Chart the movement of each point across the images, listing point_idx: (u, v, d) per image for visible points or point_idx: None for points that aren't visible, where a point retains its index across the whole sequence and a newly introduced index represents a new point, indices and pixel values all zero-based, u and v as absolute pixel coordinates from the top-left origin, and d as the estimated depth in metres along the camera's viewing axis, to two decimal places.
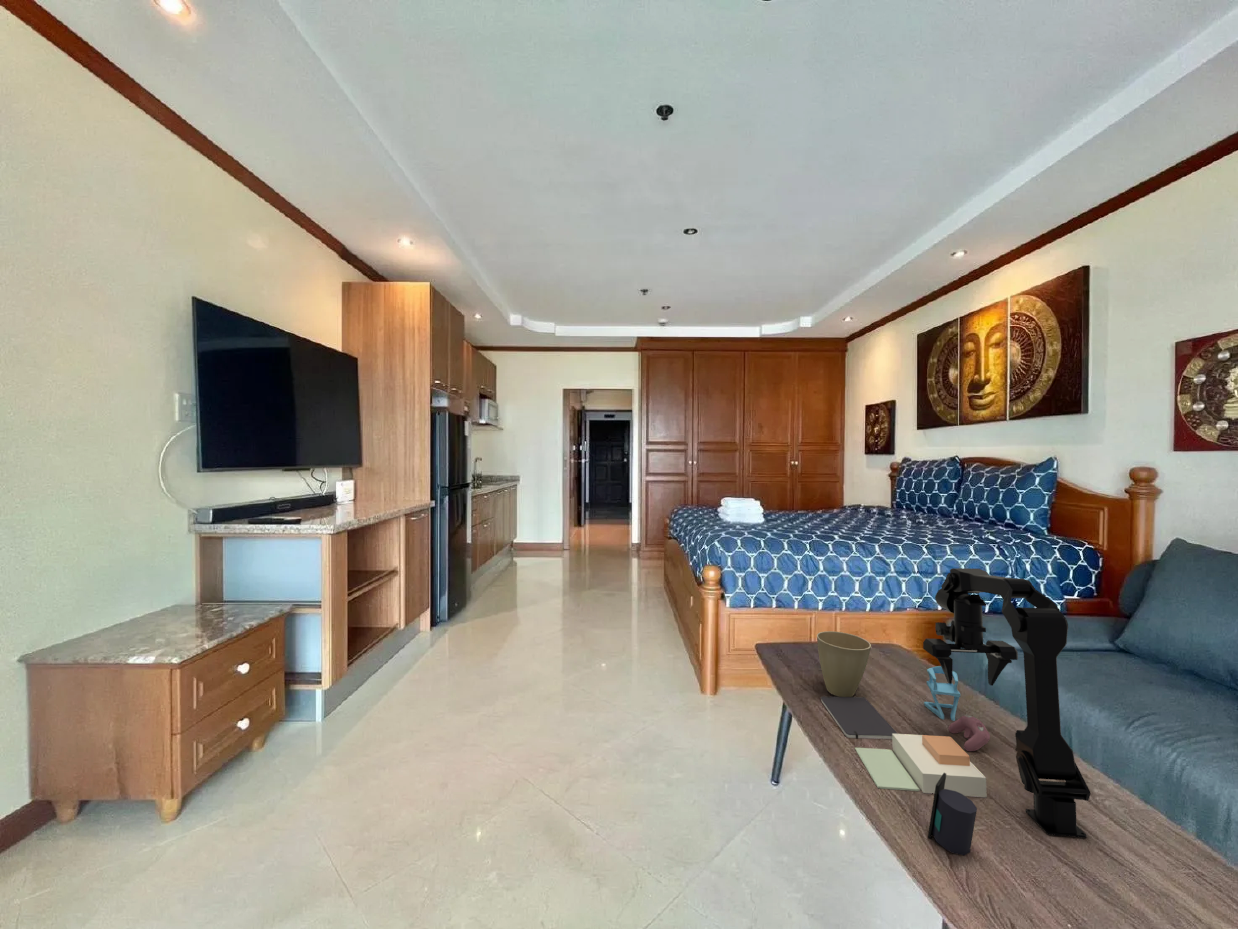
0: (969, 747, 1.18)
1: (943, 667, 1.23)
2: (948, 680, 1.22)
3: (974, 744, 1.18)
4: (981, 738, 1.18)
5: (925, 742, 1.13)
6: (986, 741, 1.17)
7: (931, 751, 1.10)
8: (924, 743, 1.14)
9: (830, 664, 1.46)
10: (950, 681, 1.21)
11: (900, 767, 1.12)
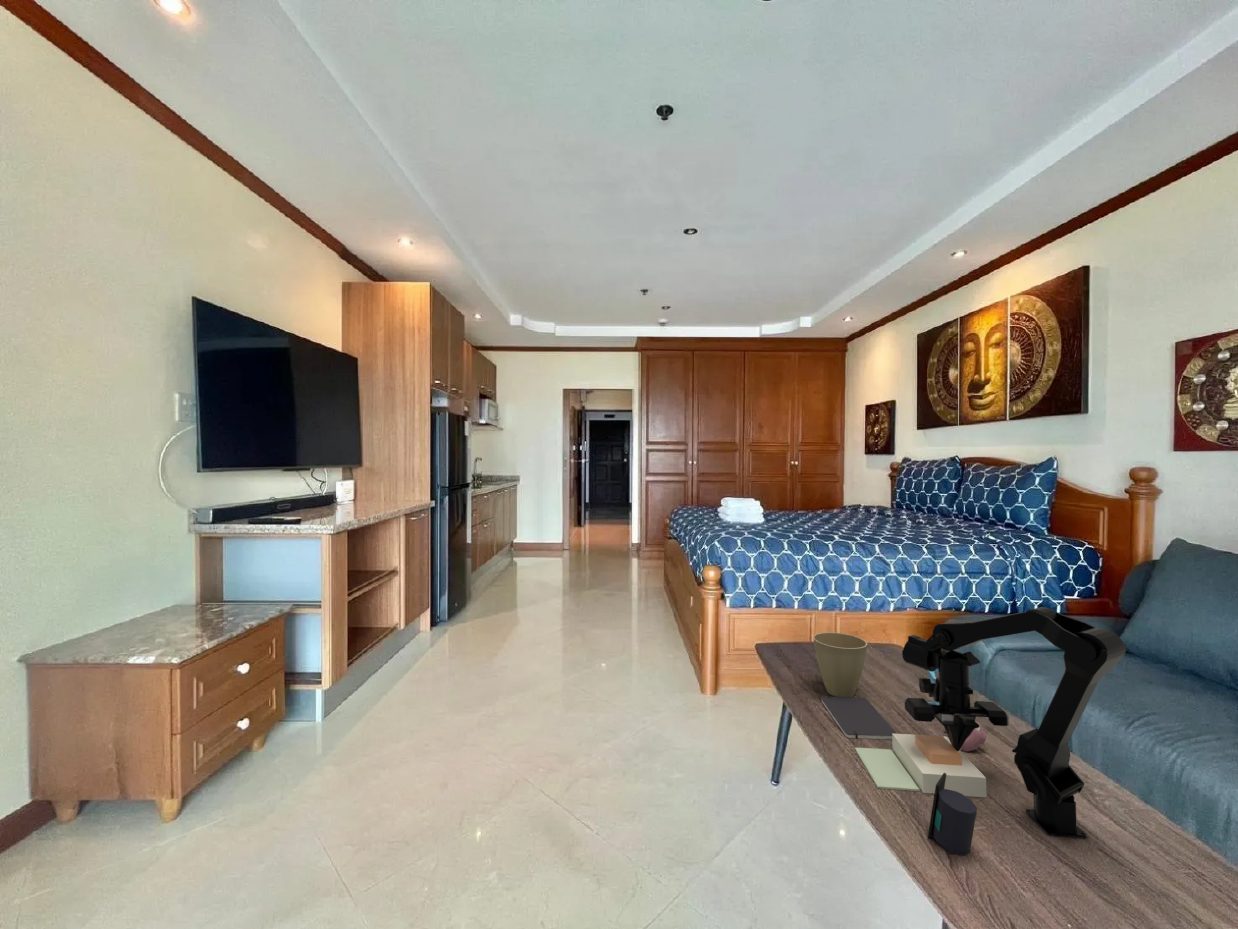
0: (966, 747, 1.18)
1: (948, 732, 1.10)
2: None
3: (971, 744, 1.18)
4: (978, 739, 1.18)
5: (918, 742, 1.13)
6: (983, 741, 1.17)
7: (923, 750, 1.10)
8: (917, 743, 1.14)
9: (828, 665, 1.46)
10: (955, 748, 1.09)
11: (900, 767, 1.12)
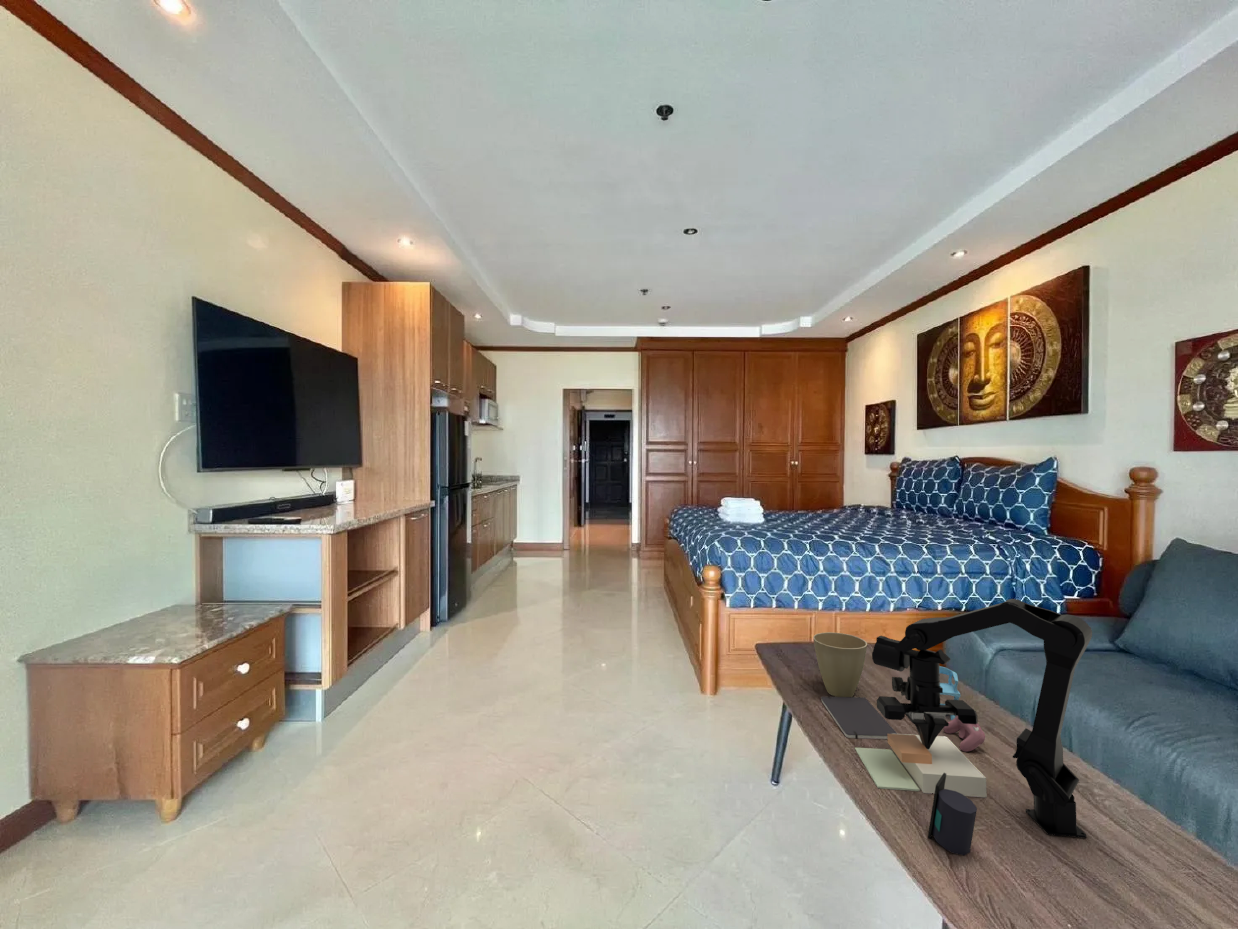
0: (965, 747, 1.18)
1: (918, 730, 1.11)
2: (924, 745, 1.11)
3: (969, 744, 1.18)
4: (977, 739, 1.18)
5: (890, 741, 1.14)
6: (982, 741, 1.17)
7: (895, 749, 1.11)
8: (889, 742, 1.14)
9: (828, 665, 1.46)
10: (926, 746, 1.10)
11: (900, 767, 1.12)
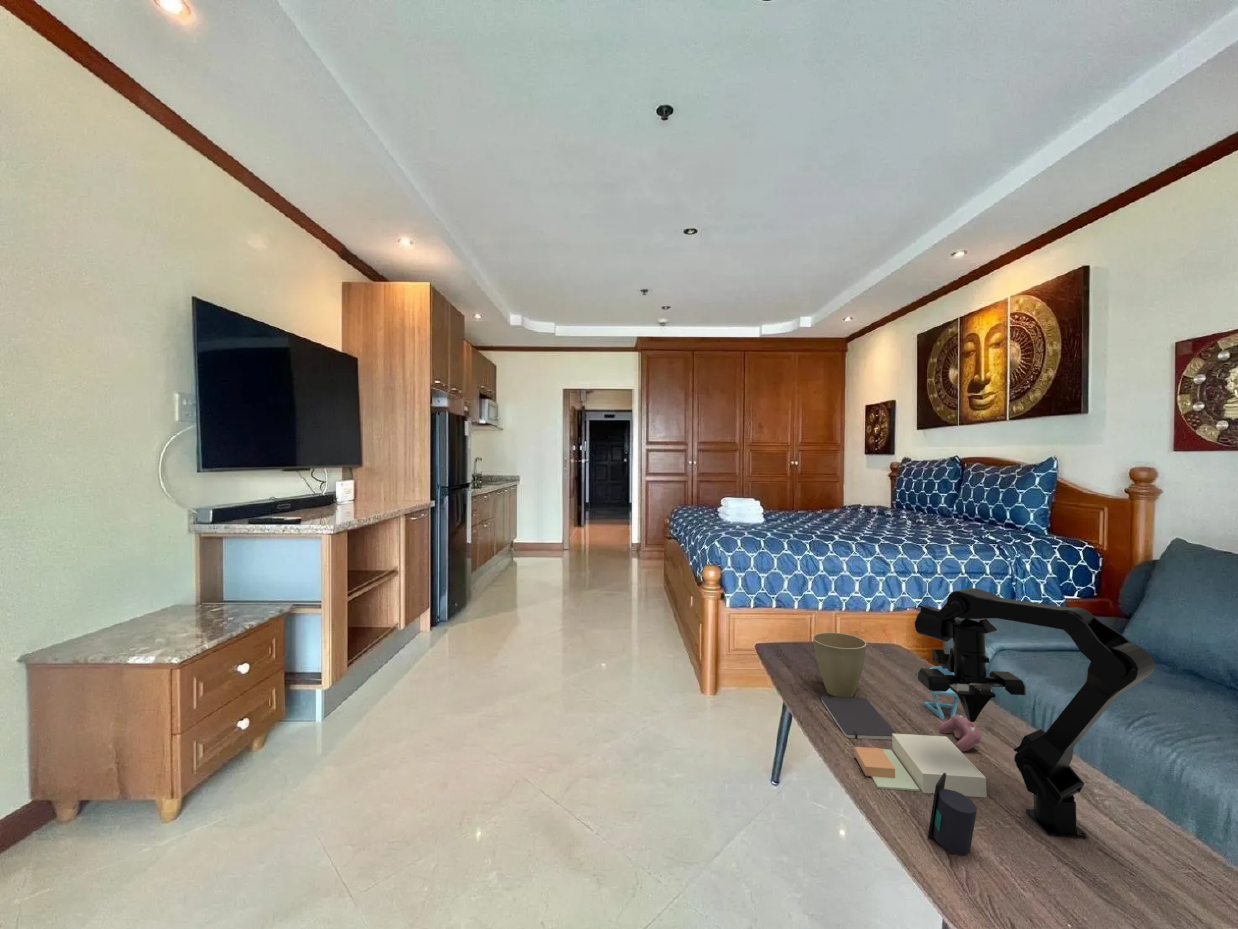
0: (961, 747, 1.18)
1: (963, 703, 1.07)
2: (968, 718, 1.07)
3: (965, 744, 1.18)
4: (973, 739, 1.18)
5: None
6: (978, 741, 1.17)
7: None
8: None
9: (827, 665, 1.46)
10: (971, 719, 1.06)
11: (900, 767, 1.12)
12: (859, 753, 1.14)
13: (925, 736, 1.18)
